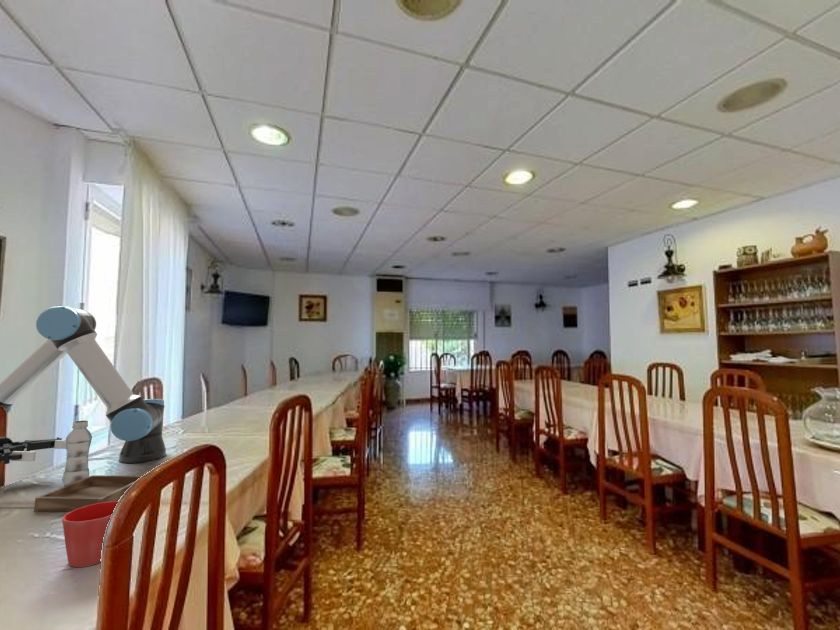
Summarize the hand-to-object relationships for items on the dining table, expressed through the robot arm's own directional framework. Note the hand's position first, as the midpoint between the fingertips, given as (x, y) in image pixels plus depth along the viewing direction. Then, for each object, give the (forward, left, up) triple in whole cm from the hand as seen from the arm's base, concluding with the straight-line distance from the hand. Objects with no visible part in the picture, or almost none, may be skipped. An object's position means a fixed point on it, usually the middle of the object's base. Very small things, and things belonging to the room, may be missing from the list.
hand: (55, 450), depth 122 cm
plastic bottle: (0, +7, -11) cm, 13 cm away
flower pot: (+40, +47, -11) cm, 63 cm away
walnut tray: (+10, +22, -11) cm, 26 cm away
